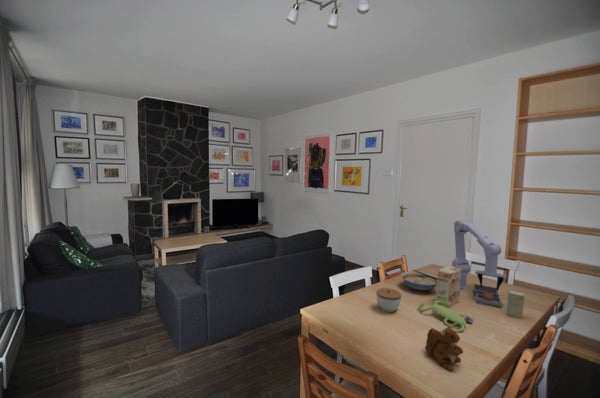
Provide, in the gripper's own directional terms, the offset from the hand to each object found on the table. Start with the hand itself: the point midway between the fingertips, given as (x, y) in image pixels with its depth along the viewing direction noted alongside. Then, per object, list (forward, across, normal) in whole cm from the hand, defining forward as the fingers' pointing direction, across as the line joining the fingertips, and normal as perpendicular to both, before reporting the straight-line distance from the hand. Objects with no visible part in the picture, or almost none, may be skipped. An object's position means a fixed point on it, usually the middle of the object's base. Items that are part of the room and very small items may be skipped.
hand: (489, 288), depth 163 cm
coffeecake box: (+8, -20, -13) cm, 25 cm away
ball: (+5, 0, 0) cm, 5 cm away
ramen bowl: (+8, -37, -1) cm, 38 cm away
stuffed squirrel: (+8, -18, -72) cm, 75 cm away
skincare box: (+8, +11, -11) cm, 18 cm away
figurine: (+9, -20, -33) cm, 40 cm away
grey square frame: (+8, -1, +12) cm, 14 cm away
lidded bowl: (+8, -47, -41) cm, 63 cm away
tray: (+8, 0, 0) cm, 8 cm away
